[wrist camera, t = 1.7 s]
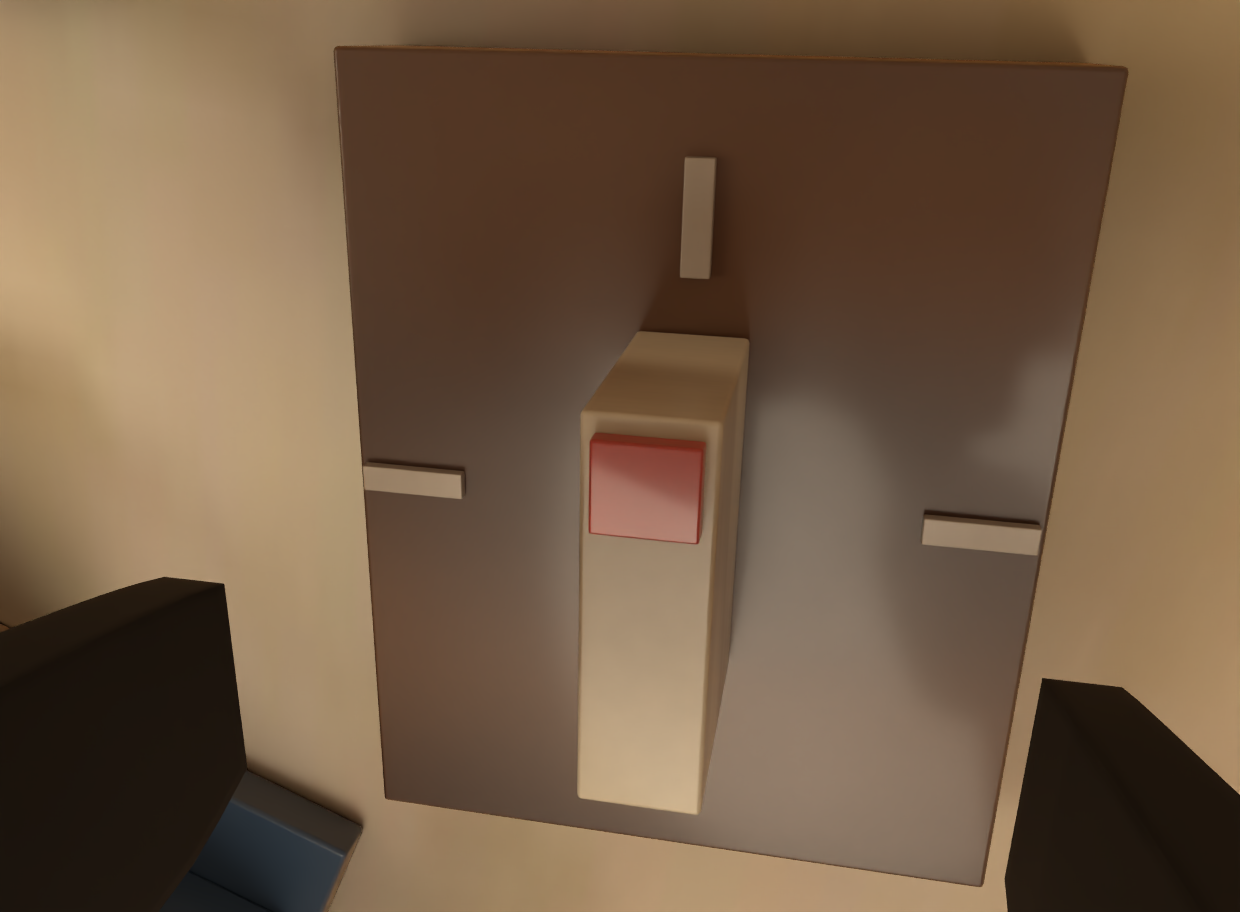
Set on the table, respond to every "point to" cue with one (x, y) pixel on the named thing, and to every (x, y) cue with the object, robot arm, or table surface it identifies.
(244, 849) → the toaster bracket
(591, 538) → the beige slab
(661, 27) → the table surface
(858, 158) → the block
